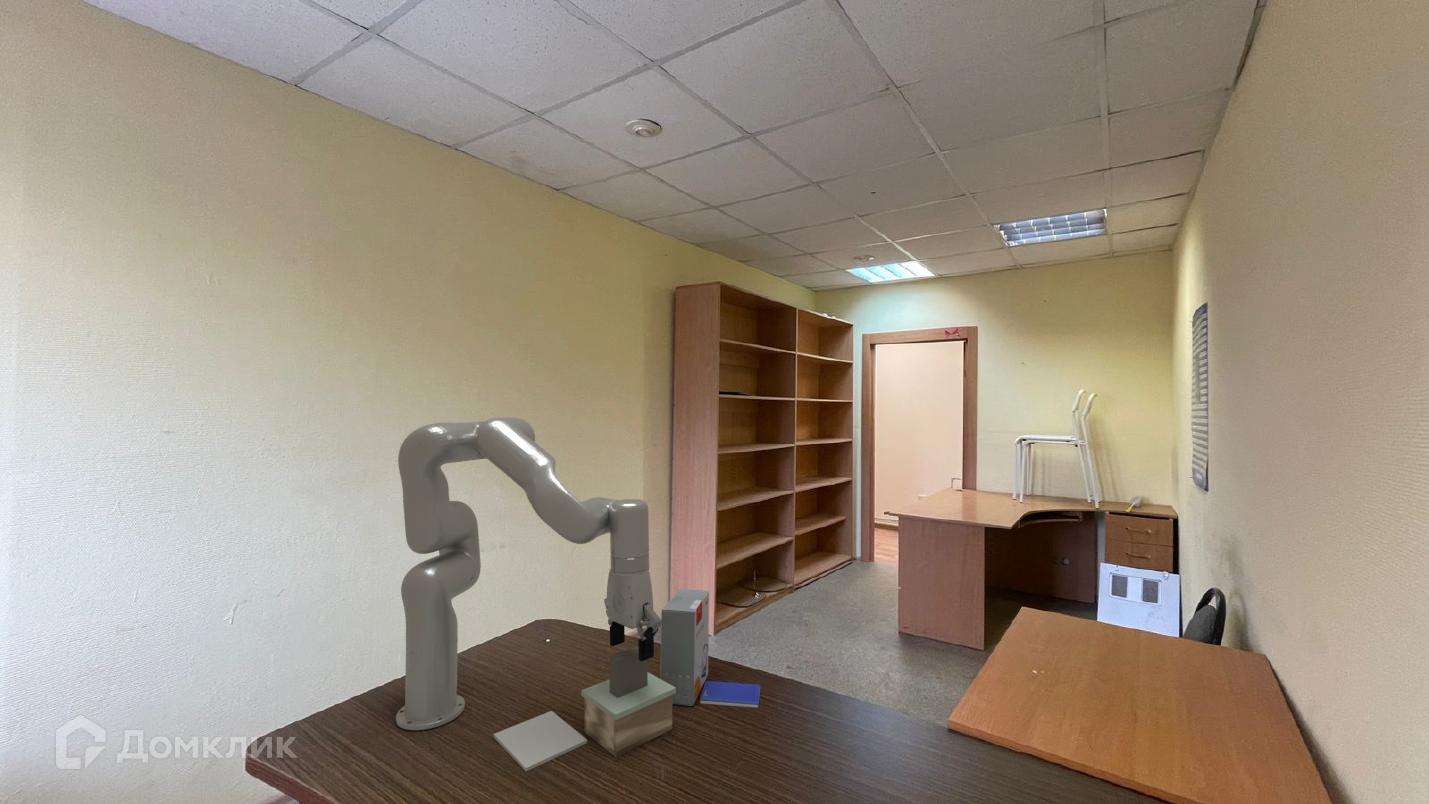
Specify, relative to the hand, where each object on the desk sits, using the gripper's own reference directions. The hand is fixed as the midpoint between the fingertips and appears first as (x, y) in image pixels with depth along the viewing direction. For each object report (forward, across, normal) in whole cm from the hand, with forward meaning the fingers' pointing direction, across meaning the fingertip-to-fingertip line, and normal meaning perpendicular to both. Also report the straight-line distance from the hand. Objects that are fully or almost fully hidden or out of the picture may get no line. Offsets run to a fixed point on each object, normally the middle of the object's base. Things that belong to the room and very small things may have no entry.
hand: (631, 651), depth 107 cm
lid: (+9, 0, 0) cm, 9 cm away
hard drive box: (+16, -6, +18) cm, 25 cm away
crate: (+15, -1, 0) cm, 15 cm away
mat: (+15, -10, -14) cm, 23 cm away
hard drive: (+16, +4, +24) cm, 29 cm away
